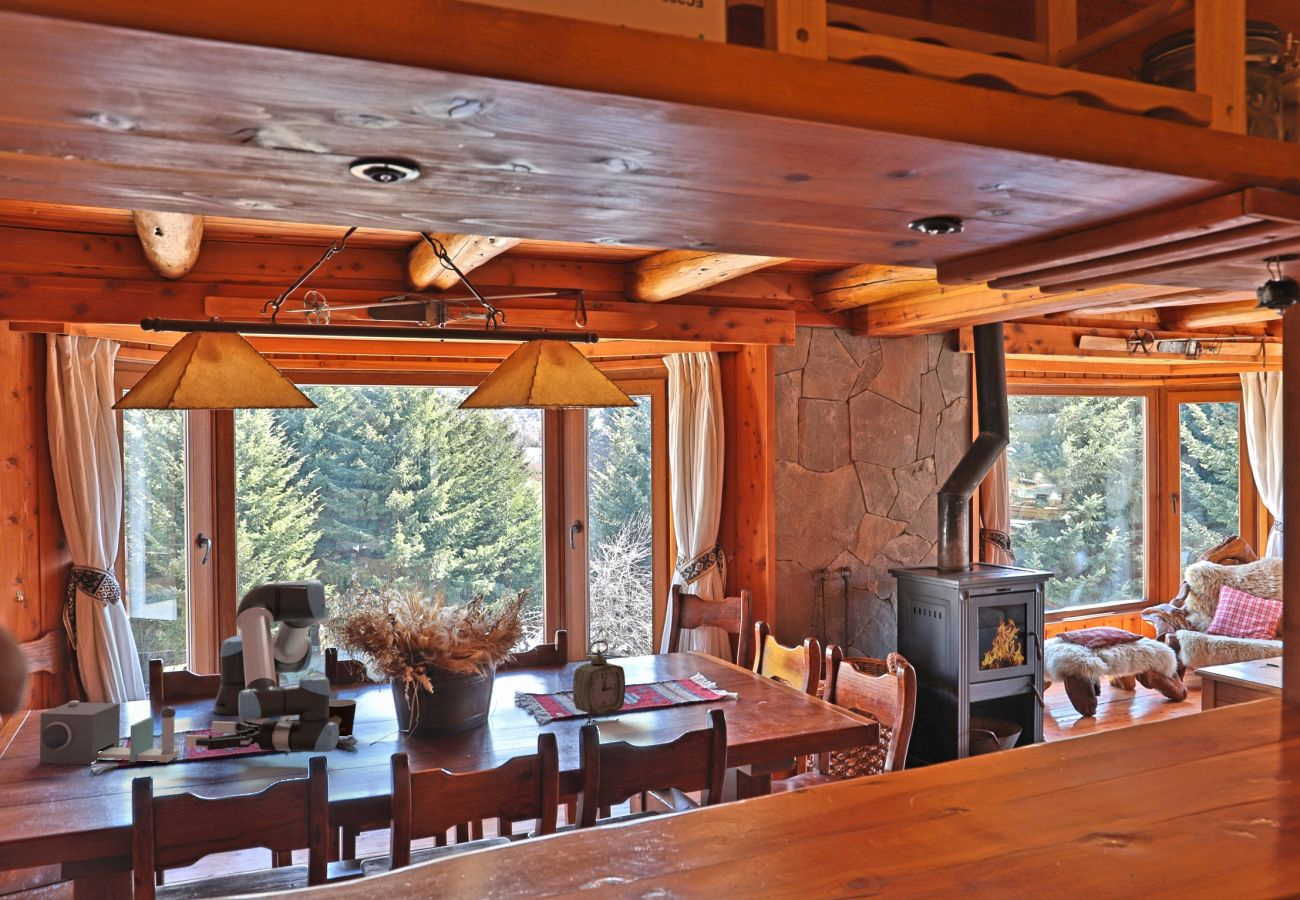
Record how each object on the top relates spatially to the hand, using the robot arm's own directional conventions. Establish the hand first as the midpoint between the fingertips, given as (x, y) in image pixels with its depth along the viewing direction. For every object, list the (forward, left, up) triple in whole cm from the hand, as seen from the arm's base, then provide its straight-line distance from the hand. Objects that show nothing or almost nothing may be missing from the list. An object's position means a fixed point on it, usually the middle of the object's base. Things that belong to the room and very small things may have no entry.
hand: (199, 733), depth 263 cm
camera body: (+31, -11, -7) cm, 33 cm away
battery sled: (+15, -6, -7) cm, 18 cm away
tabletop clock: (-111, -12, -7) cm, 112 cm away
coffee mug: (-34, -15, -7) cm, 38 cm away
